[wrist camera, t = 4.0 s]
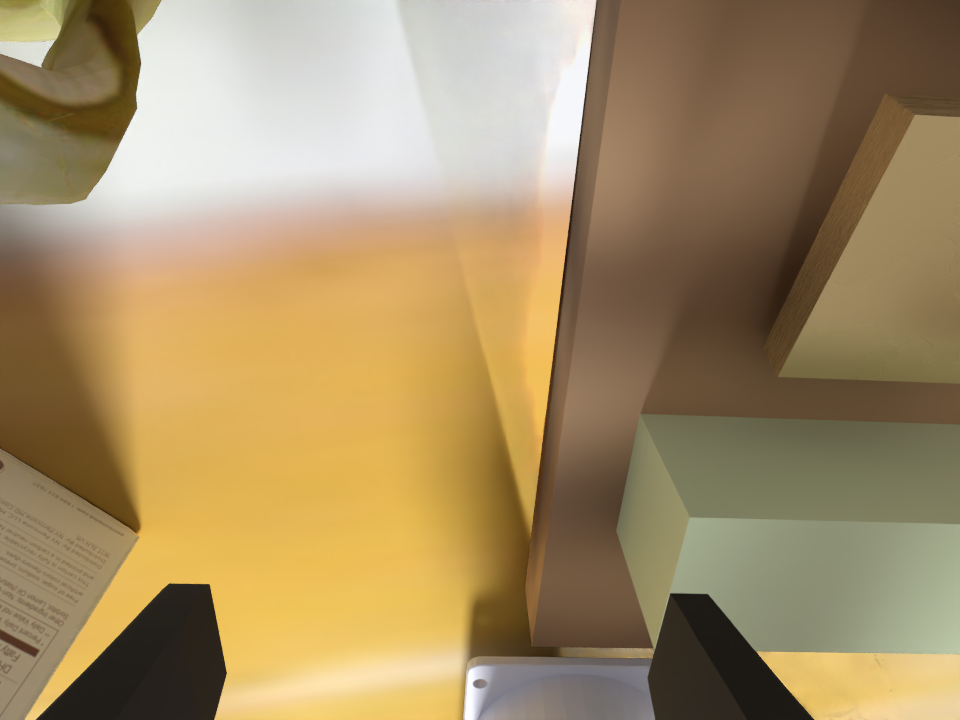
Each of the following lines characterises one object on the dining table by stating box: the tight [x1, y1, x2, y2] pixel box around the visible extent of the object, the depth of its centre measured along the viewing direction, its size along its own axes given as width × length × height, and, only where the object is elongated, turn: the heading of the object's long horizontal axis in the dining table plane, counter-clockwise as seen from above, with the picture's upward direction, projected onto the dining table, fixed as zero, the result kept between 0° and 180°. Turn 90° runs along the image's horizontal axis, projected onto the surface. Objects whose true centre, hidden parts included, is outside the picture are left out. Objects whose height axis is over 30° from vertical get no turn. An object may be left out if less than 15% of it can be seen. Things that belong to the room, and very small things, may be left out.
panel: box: [525, 0, 960, 648], centre depth 16 cm, size 24×14×4 cm, turn 177°
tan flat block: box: [762, 93, 960, 384], centre depth 13 cm, size 6×5×1 cm
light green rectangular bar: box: [616, 414, 960, 654], centre depth 16 cm, size 4×12×4 cm, turn 87°
